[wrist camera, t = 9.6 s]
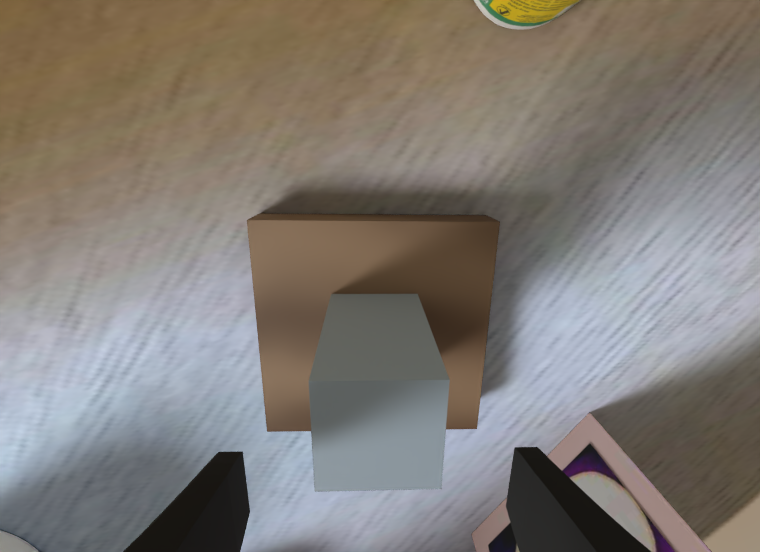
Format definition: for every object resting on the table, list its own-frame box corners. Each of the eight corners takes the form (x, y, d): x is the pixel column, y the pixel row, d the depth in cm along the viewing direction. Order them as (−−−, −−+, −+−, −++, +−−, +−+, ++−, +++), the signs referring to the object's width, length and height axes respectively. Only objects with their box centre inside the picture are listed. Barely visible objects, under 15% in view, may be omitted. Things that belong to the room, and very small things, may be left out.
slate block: (414, 369, 18) (441, 488, 12) (333, 370, 18) (314, 491, 12) (417, 293, 17) (449, 379, 11) (331, 294, 17) (308, 381, 10)
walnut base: (467, 404, 22) (476, 428, 20) (276, 406, 21) (267, 431, 19) (486, 215, 18) (499, 222, 16) (259, 213, 18) (247, 220, 16)
